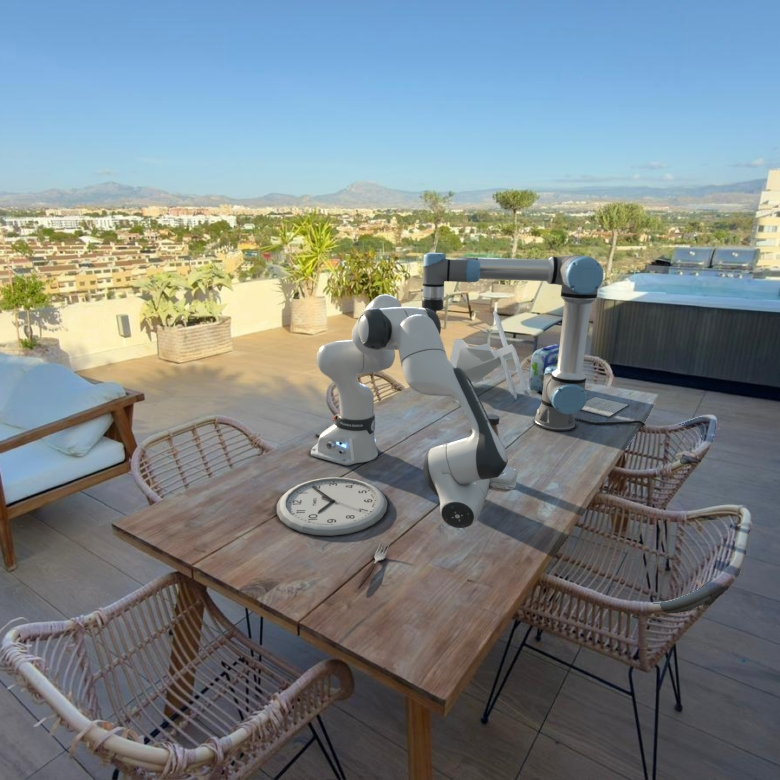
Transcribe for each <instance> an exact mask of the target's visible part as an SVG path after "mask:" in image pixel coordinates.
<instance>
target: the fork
mask: <svg viewBox="0 0 780 780" xmlns="http://www.w3.org/2000/svg"><path fill="white" fill-rule="evenodd" d="M381 543H382V545H381ZM384 543H385V545H384ZM390 543H391V542H388V543H387V542H385V541H383V542H382V541H380V542H379V545H378V547H377V550H376V551H375V554H374V562H373V563H372V564H371V565H370V566H369V567H368V568H367V569H366V571H365V573H364V575H363V577H362V579H361V581H360V583H359V585H358V588H357V589H360V588H362V586H363V585H364V584H365V582H366V581H367V580H368V578H369V577H370V576H371V575H372V573H373V571H374V570H375V567H376V565H377V562H379V561H384V560H385V559H386V557H387V554H388V551H389V547H390ZM387 544H388V545H387ZM380 547H381V548H380ZM383 547H384V548H383Z"/></svg>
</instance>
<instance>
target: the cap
mask: <svg viewBox="0 0 780 780" xmlns="http://www.w3.org/2000/svg"><path fill="white" fill-rule="evenodd" d="M487 416H488V418H489V420H490V422H491V424H492V425H497V426H498V425H499V424H500V416H499V415H497V414H487Z"/></svg>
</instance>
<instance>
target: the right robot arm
mask: <svg viewBox="0 0 780 780" xmlns="http://www.w3.org/2000/svg"><path fill="white" fill-rule="evenodd" d="M422 264H423V265H422V288H420V292H421V293H422V294H421V296H422V299H421V307H422V308H427V309H430V310H433V311H434V312H436V314H437V311H438V312H439V311H442V310H444V299H443V298H444V297H445V282H447V283H449V282H452V283H453V282H457V283H468V284H470V283H477V282H479V281H480V280H495V281H497V280H499V281H500V280H501V281H526V282H527V281H531V282H546V283H547V284H548V285H557V286H561V289H560V298H561V299H562V300H563V303H564V305H563V313H562V322H561V330H560V339H559V345H560V346H559V355H558V364H557V366H553V367H547V368H546V369H545V373H544V382H543V392H541V393H542V394H541V402H540V405H539V407H538V408H537V410H536V413H535V417H534V424H535V425H536V426H537V427H539V428H542V429H544V430H549V431H556V432H567V431H572V430H574V429H575V428H576V422H579V423H585V424H589V425H597V426H598V425H600V426H601V425H624V424H625V425H627V424H629V425H630V424H631V425H632V424H640V425H642V426H646V423H644V421H642V420H628V421H627V420H623V421H590V420H585V419H581V418H575V417H576V416H575V414H576V413H579V412H580V411H582V410H581V409H582V408H583V407H584V406H585V404H586V401H588V397H587V392H586V389H585V388H586V383H587V382H586V381H587V375H586V374H585V373H584V371H583V369H584V361H585V355H586V347H587V339H588V338H587V337H588V330H589V324H590V318H591V317H590V316H591V308H592V303H593V302H594V301H596V300H597V298H598V294H599V293H598V291H599V288H601V285H602V284H603V281H604V269H603V267H602V265H601V264H600V262H599V261H597V260H596V259H595V258H594V257H592V256H587V255H581V254H574V255H573V254H572V255H565V256H551V257H549V258H548V259H545V258H544V259H543V258H542V259H541V258H540V259H539V258H501V257H500V258H497V257H496V258H495V257H494V258H492V257H466V256H460V257H457V258H455V259H451V258H449V259H448V258H447V257H446V253H444V252H427V253H425V254H424V255H423V263H422ZM437 315H438V314H437ZM438 316H439V315H438Z"/></svg>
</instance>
